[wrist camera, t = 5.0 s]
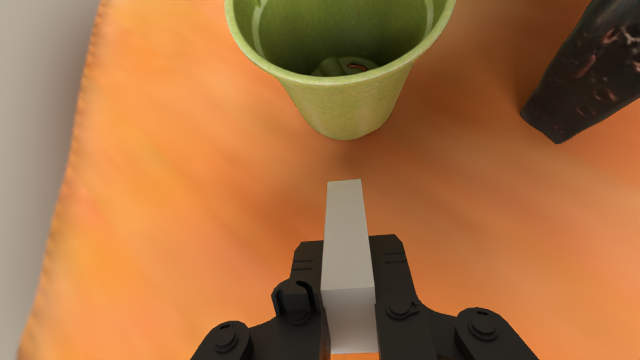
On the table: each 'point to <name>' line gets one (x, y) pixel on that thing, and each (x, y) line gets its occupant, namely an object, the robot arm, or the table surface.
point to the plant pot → (338, 53)
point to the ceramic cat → (589, 72)
